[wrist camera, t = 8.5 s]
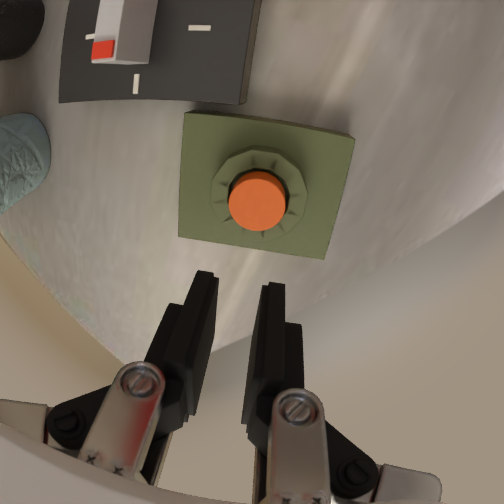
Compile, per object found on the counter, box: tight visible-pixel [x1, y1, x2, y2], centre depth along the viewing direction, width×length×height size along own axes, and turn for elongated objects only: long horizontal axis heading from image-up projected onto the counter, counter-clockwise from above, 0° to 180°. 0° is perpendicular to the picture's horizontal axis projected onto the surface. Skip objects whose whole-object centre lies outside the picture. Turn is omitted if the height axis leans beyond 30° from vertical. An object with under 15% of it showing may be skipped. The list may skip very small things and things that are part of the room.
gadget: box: [59, 0, 261, 105], centre depth 16 cm, size 14×10×4 cm
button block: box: [178, 110, 355, 260], centre depth 22 cm, size 12×10×4 cm
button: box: [229, 171, 286, 231], centre depth 20 cm, size 4×4×2 cm
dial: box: [91, 0, 158, 65], centre depth 12 cm, size 5×2×5 cm, turn 172°
